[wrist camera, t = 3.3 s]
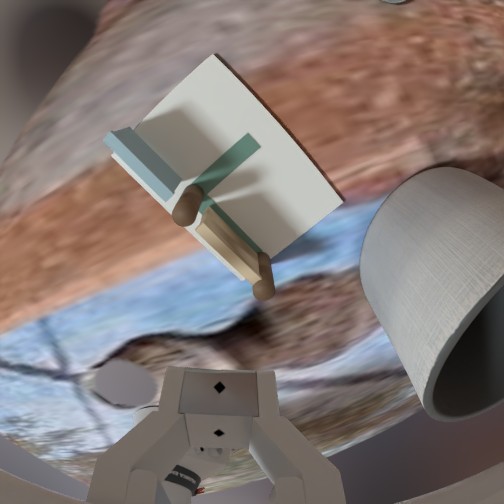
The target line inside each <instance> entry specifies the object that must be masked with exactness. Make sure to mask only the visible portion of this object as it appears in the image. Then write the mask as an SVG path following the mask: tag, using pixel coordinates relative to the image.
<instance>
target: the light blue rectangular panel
mask: <svg viewBox="0 0 504 504" xmlns="http://www.w3.org/2000/svg"><path fill="white" fill-rule="evenodd" d="M103 141H104V142H105V143H106V144H107V145H108V146H109V147H110V148H111V149H112V150H113V151H114V152H115V153H116V154H117V155H118V156H119V157H120V158H121V159H122V160H123V161H124V162H125V163H126V164H127V165H128V166H129V167H130V168H131V169H132V170H133V171H134V172H135V173H136V174H137V175H138V176H139V177H140V178H141V179H142V180H143V181H144V182H145V183H146V184H147V185H148V186H149V187H150V188H151V189H152V190H153V191H154V192H155V193H156V194H157V195H158V196H159V197H160V198H161V199H163V200H164V201H165V202H167V201H168V200H169V199H170V198H171V197H172V196H173V195H174V194H175V192H174V191H175V190H176V188H177V187H178V185H179V184H180V182H181V181H182V178H181V177H180V176H179V175H178V174H177V173H176V172H175V171H174V170H172V169H171V168H170V167H169V166H168V165H167V164H166V163H165V162H164V161H163V160H162V159H161V158H160V157H159V156H158V155H157V154H156V153H155V152H154V151H153V150H152V149H151V148H150V147H149V146H148V145H147V144H146V143H145V142H144V141H143V140H142V139H141V138H140V137H139V136H138V135H137V134H136V133H135V132H134V131H133V130H132V129H131V128H130V127H127V128H124V129H121V130H118V131H115V132H114V131H110V132H109V133H108V135H107V136H106V137H105V138H104V139H103Z"/></svg>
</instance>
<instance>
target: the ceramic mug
mask: <svg viewBox="0 0 504 504" xmlns="http://www.w3.org/2000/svg"><path fill="white" fill-rule="evenodd" d="M380 1H384V2H388V3H401V2H404V1H406V0H380Z"/></svg>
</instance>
